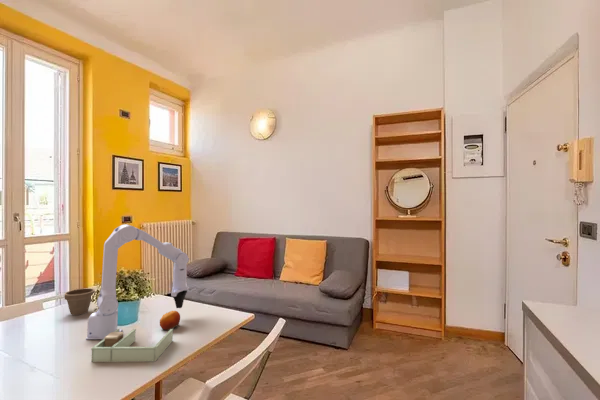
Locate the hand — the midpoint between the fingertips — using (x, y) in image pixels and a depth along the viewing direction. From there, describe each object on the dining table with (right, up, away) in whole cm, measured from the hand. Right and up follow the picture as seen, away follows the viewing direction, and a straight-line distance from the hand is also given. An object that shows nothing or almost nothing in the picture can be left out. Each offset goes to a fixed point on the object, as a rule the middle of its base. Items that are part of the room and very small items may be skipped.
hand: (179, 307), depth 133 cm
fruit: (0, -5, -10) cm, 11 cm away
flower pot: (-49, -4, +5) cm, 50 cm away
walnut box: (-10, -4, -31) cm, 33 cm away
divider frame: (-3, -4, -29) cm, 30 cm away
